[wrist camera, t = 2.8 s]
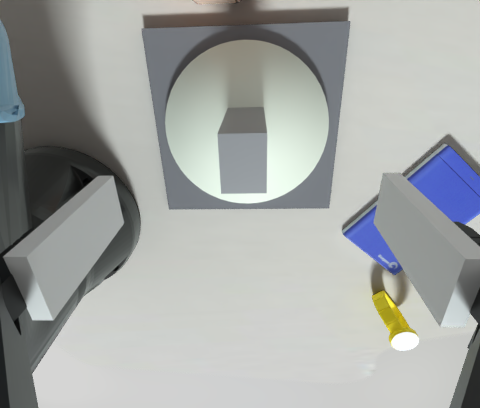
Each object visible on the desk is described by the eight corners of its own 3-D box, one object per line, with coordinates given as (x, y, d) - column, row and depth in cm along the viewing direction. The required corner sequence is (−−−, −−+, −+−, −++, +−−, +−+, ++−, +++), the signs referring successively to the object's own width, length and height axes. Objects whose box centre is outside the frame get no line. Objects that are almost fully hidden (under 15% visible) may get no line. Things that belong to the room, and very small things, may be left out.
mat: (327, 204, 32) (328, 208, 31) (170, 205, 33) (169, 209, 32) (347, 21, 24) (350, 20, 24) (144, 29, 25) (141, 28, 24)
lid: (319, 199, 31) (342, 255, 23) (177, 200, 31) (151, 254, 23) (335, 36, 24) (375, 34, 16) (156, 42, 25) (109, 43, 17)
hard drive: (395, 277, 34) (502, 199, 30) (343, 236, 32) (450, 146, 27) (390, 267, 36) (491, 192, 31) (340, 228, 34) (441, 141, 29)
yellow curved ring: (361, 289, 37) (376, 328, 32) (382, 278, 36) (402, 316, 31) (387, 321, 39) (405, 363, 33) (408, 311, 38) (431, 353, 32)
